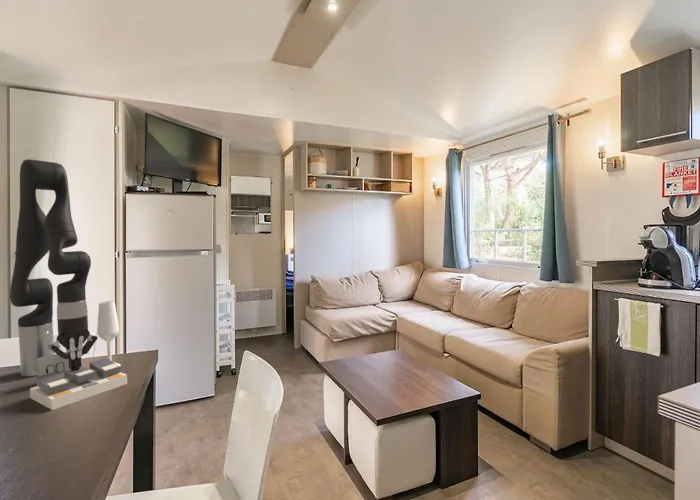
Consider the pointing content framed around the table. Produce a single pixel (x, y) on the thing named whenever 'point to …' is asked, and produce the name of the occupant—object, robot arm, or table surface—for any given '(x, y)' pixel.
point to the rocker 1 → (52, 383)
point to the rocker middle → (80, 375)
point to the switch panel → (78, 390)
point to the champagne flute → (107, 324)
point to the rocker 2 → (104, 367)
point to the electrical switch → (52, 365)
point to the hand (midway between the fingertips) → (75, 369)
